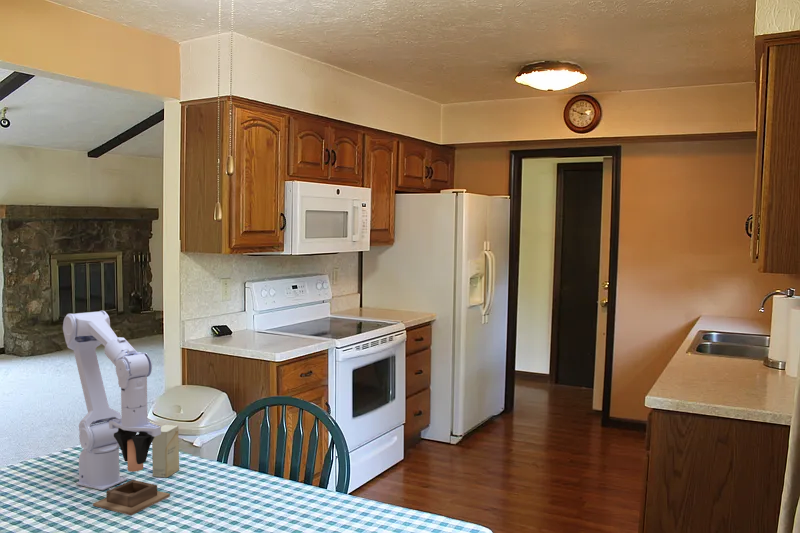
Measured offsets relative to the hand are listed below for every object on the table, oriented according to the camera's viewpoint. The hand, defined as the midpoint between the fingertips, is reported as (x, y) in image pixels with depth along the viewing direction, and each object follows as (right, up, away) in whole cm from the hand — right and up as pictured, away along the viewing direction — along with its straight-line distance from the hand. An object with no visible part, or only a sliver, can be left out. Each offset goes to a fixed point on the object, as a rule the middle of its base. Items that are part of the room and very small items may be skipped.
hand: (135, 461), depth 157 cm
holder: (-1, -9, 0) cm, 9 cm away
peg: (0, -2, 0) cm, 2 cm away
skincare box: (+1, -9, +18) cm, 20 cm away
